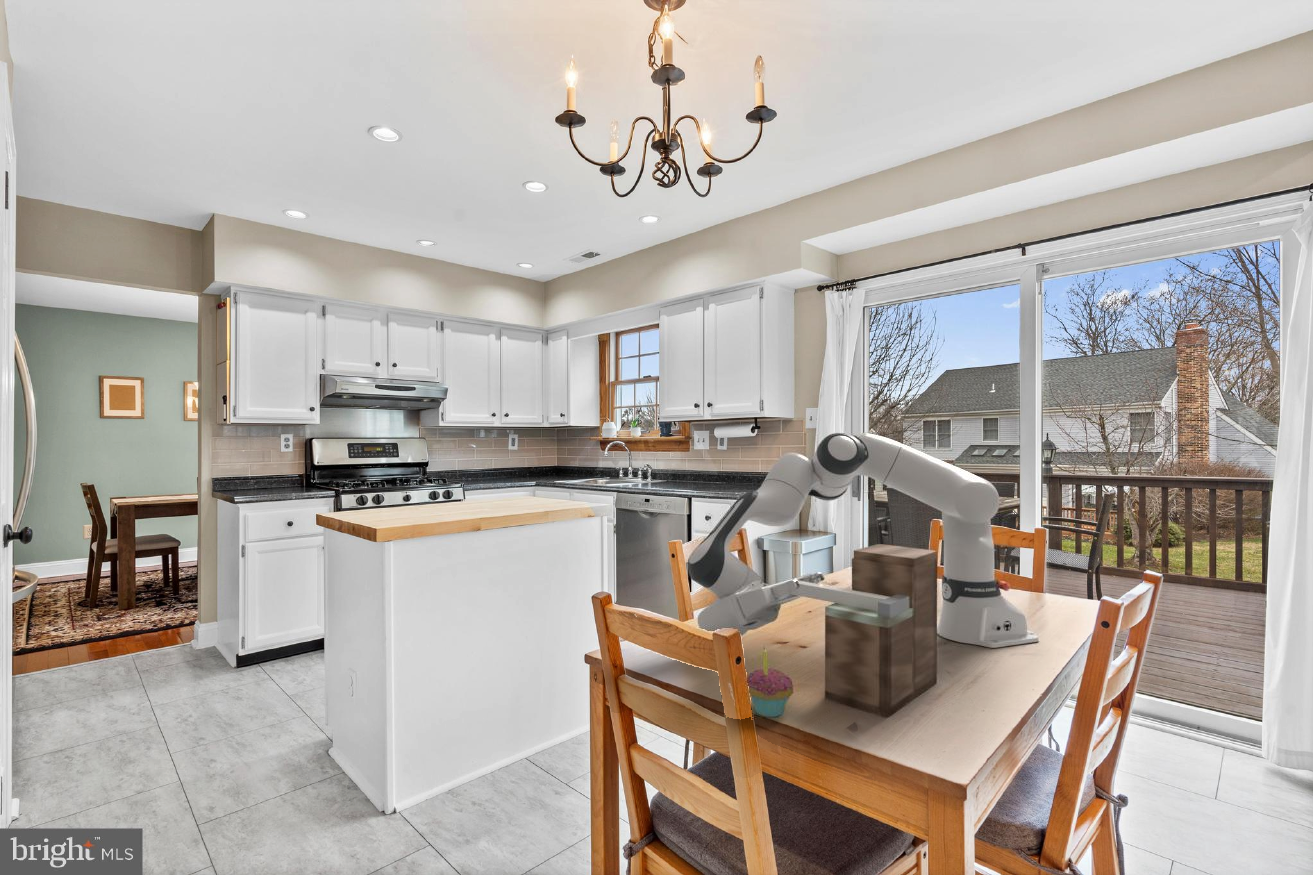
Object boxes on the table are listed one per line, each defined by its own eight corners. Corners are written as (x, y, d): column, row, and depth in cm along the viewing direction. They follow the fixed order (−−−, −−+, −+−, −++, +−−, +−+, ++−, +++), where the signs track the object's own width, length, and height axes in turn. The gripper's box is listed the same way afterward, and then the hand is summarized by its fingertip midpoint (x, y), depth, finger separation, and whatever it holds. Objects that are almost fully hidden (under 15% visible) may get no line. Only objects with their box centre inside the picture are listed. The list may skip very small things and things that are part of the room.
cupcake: (782, 725, 111) (782, 654, 111) (736, 714, 115) (736, 645, 115) (800, 708, 118) (800, 641, 118) (756, 697, 123) (756, 633, 122)
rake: (781, 596, 130) (781, 584, 130) (803, 589, 136) (803, 577, 136) (889, 618, 115) (890, 604, 115) (909, 609, 120) (909, 596, 120)
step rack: (824, 698, 122) (825, 558, 122) (878, 668, 138) (878, 543, 138) (887, 717, 114) (887, 567, 114) (936, 683, 130) (937, 551, 130)
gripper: (792, 608, 144) (842, 586, 136) (735, 628, 130) (788, 604, 121) (779, 581, 147) (828, 557, 138) (722, 597, 132) (773, 571, 124)
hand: (809, 579), depth 130 cm, fingers open, 8 cm apart
